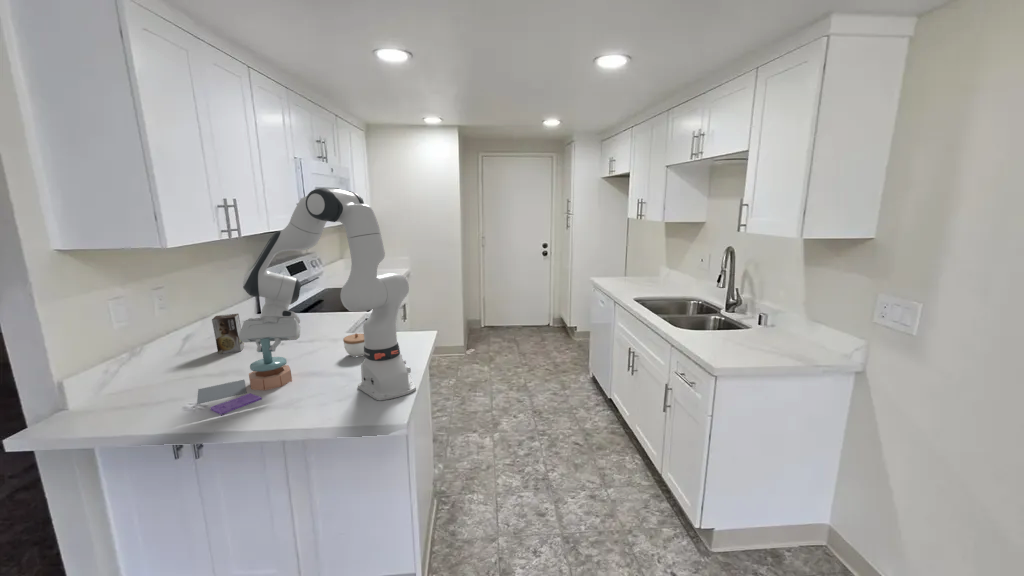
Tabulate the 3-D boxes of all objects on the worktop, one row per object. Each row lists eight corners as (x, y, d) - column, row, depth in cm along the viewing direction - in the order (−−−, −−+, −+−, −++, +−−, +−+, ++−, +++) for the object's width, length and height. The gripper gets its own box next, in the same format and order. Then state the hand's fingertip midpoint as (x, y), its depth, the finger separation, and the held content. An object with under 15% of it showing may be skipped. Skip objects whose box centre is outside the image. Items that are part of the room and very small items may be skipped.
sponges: (210, 412, 139) (209, 406, 138) (251, 397, 149) (250, 392, 148) (221, 417, 135) (220, 412, 134) (262, 401, 145) (261, 396, 145)
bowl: (293, 384, 157) (292, 373, 156) (252, 394, 150) (250, 382, 149) (288, 373, 167) (287, 362, 166) (249, 381, 160) (247, 370, 159)
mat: (246, 394, 150) (246, 392, 150) (197, 405, 142) (197, 404, 142) (244, 380, 161) (244, 379, 161) (198, 390, 154) (198, 389, 154)
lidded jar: (363, 359, 180) (361, 338, 178) (339, 358, 182) (337, 337, 180) (376, 350, 190) (374, 330, 188) (353, 349, 192) (351, 329, 190)
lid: (288, 366, 156) (285, 340, 154) (251, 374, 149) (247, 346, 147) (284, 357, 165) (281, 331, 163) (249, 363, 159) (245, 337, 157)
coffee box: (244, 347, 199) (239, 313, 196) (241, 351, 193) (235, 316, 190) (221, 349, 196) (216, 315, 193) (217, 354, 190) (211, 318, 187)
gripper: (240, 314, 159) (230, 349, 152) (298, 312, 161) (292, 346, 154) (248, 322, 164) (239, 356, 157) (304, 320, 166) (298, 353, 159)
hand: (265, 351), depth 155 cm, fingers closed on lid, 3 cm apart
